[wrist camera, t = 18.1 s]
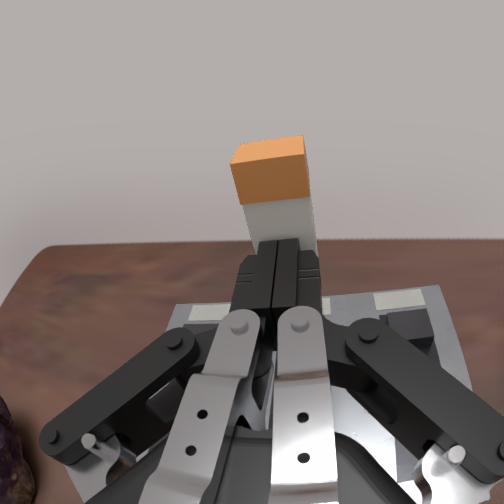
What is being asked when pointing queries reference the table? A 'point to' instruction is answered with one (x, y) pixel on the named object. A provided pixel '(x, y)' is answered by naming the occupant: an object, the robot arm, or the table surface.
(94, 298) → the table surface
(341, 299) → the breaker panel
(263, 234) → the orange-capped grey post
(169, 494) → the robot arm
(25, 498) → the rock
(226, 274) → the table surface
